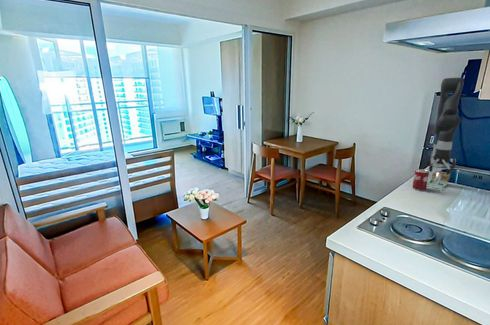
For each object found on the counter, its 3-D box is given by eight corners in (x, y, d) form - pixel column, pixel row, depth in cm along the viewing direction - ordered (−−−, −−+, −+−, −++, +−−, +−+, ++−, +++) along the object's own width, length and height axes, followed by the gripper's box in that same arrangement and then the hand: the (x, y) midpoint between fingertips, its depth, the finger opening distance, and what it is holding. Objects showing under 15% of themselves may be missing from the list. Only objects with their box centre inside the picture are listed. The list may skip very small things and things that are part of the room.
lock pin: (434, 184, 166) (437, 170, 163) (439, 185, 164) (442, 171, 161) (433, 185, 164) (436, 171, 161) (438, 186, 162) (441, 172, 160)
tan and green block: (434, 176, 179) (435, 170, 178) (450, 180, 173) (451, 173, 171) (428, 181, 171) (430, 174, 170) (445, 185, 165) (446, 177, 163)
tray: (430, 182, 170) (431, 178, 170) (447, 185, 164) (447, 181, 163) (425, 186, 164) (426, 182, 163) (442, 189, 158) (443, 186, 157)
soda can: (425, 187, 161) (429, 169, 158) (426, 191, 156) (429, 173, 152) (412, 185, 165) (415, 168, 162) (412, 189, 159) (415, 171, 156)
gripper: (459, 148, 154) (454, 174, 159) (431, 145, 165) (427, 169, 169) (456, 151, 149) (451, 177, 154) (428, 147, 160) (423, 171, 164)
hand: (438, 173), depth 162 cm, fingers open, 8 cm apart
